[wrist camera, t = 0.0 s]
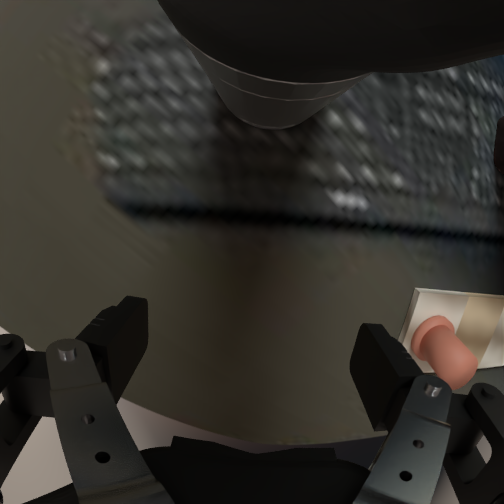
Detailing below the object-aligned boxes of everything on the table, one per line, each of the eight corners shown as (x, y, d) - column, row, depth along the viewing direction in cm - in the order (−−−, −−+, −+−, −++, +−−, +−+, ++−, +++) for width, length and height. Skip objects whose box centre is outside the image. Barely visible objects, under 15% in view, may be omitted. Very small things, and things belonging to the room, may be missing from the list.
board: (415, 287, 29) (420, 292, 28) (552, 299, 30) (557, 302, 29) (387, 367, 32) (390, 373, 31) (528, 357, 33) (532, 361, 32)
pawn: (420, 314, 29) (452, 350, 22) (456, 316, 29) (490, 348, 22) (404, 356, 30) (430, 396, 24) (440, 355, 30) (468, 392, 24)
